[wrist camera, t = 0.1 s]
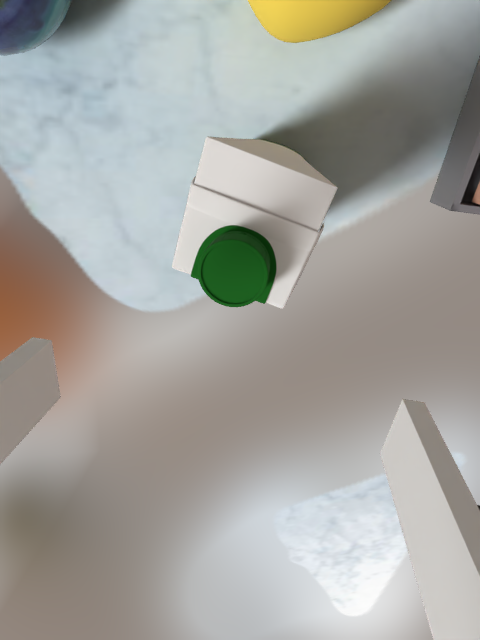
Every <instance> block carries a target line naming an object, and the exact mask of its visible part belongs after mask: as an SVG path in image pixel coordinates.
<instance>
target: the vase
mask: <svg viewBox="0 0 480 640" xmlns="http://www.w3.org/2000/svg"><path fill="white" fill-rule="evenodd" d="M70 4H71V0H0V55H3V56H5V55H11V54H17V53H23V52H26V51H29V50H31V49H34V48H36V47H37V46H39V45H40V44H42V43H43V42H45V41H46V40H47V39H49V38H50V37H51V36H52V34H53V33H54V32H55V31H56V30H57V29H58V28H59V26H60V25H61V23H62V21H63V20H64V18H65V16H66V14H67V11H68V9H69V7H70Z"/></svg>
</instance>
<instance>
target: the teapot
mask: <svg viewBox="0 0 480 640" xmlns="http://www.w3.org/2000/svg"><path fill="white" fill-rule="evenodd" d="M390 1H391V0H248V2H249V4H250V6H251V8H252V9H253V11H254V13H255V15H256V17H257V18H258V20H259V21H260V23H261V24H262V26H263V27H264V28H265V29H266V30H267V31H268V32H269V33H270V34H271V35H272V36H274V37H275V38H277V39H279V40H281V41H284V42H291V43H298V42H304V41H310V40H315V39H319V38H323V37H326V36H329V35H332V34H335V33H338V32H341V31H343V30H345V29H347V28H350V27H352V26H354V25H356V24H357V23H359V22H361V21H363V20H365V19H367V18H368V17H370V16H372V15H373V14H375V13H376V12H378V11H380V10H381V9H383V8H384V7H385V6H386V5H387V4H388V3H389V2H390Z"/></svg>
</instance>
